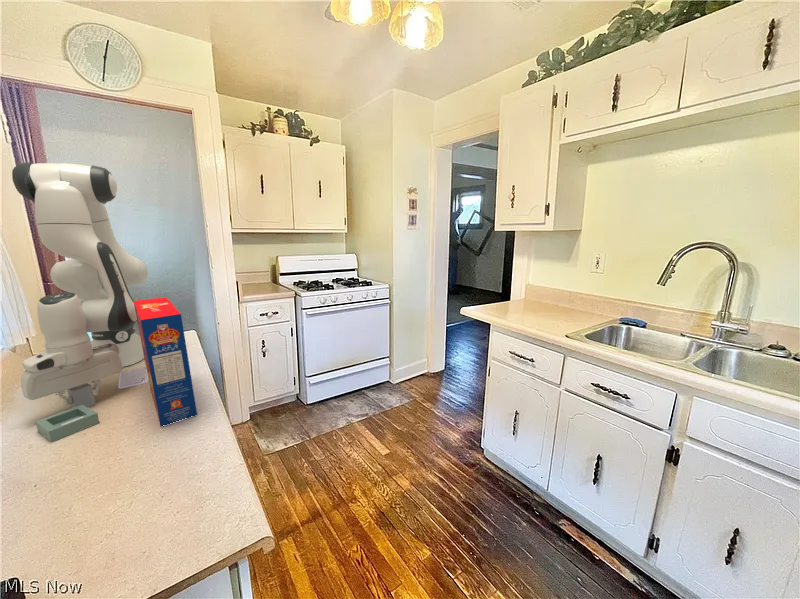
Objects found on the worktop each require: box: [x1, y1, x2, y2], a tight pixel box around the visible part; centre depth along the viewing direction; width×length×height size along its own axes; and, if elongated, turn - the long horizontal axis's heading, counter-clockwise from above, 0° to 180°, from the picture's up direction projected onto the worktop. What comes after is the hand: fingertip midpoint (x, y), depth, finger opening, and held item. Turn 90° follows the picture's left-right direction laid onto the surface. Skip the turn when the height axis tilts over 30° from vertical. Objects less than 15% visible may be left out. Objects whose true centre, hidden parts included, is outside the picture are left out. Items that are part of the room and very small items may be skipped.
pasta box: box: [133, 296, 198, 427], centre depth 94 cm, size 28×8×28 cm, turn 41°
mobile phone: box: [118, 366, 149, 389], centre depth 112 cm, size 8×1×15 cm
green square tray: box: [35, 405, 100, 443], centre depth 84 cm, size 9×9×3 cm
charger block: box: [66, 383, 97, 409], centre depth 94 cm, size 4×4×6 cm
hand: (82, 399), depth 94 cm, fingers closed on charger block, 4 cm apart
